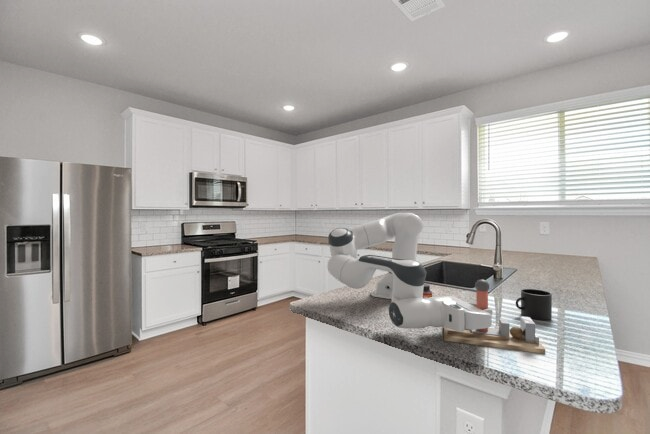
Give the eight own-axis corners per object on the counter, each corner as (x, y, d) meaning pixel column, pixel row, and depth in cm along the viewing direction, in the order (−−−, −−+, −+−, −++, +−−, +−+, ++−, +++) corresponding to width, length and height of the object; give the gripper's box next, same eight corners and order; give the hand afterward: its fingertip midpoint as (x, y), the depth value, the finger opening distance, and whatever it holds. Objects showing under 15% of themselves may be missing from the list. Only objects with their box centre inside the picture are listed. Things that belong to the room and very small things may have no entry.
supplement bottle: (430, 317, 113) (430, 287, 113) (414, 315, 117) (414, 285, 116) (433, 313, 118) (433, 284, 118) (418, 310, 122) (418, 282, 121)
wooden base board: (444, 340, 94) (444, 333, 94) (443, 326, 105) (443, 320, 105) (545, 353, 84) (545, 345, 84) (533, 336, 95) (533, 329, 95)
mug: (508, 311, 119) (508, 288, 119) (540, 312, 119) (541, 289, 118) (523, 320, 110) (523, 295, 110) (557, 320, 109) (558, 295, 109)
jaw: (525, 342, 88) (525, 323, 88) (520, 335, 94) (520, 316, 94) (539, 344, 87) (539, 324, 87) (533, 336, 93) (533, 317, 93)
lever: (472, 335, 94) (472, 280, 94) (470, 329, 99) (470, 277, 98) (509, 339, 90) (509, 283, 90) (506, 333, 95) (506, 279, 95)
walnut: (511, 339, 91) (511, 328, 91) (508, 335, 94) (508, 324, 94) (524, 341, 90) (524, 329, 90) (521, 336, 93) (521, 325, 93)
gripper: (427, 310, 104) (464, 308, 106) (462, 334, 83) (508, 331, 85) (427, 292, 103) (464, 290, 105) (462, 311, 83) (508, 308, 85)
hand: (484, 308), depth 95 cm, fingers open, 4 cm apart
